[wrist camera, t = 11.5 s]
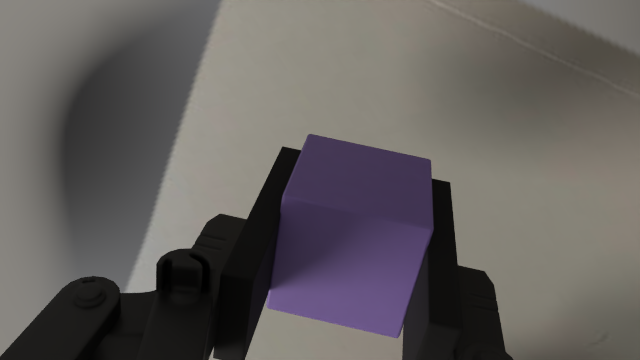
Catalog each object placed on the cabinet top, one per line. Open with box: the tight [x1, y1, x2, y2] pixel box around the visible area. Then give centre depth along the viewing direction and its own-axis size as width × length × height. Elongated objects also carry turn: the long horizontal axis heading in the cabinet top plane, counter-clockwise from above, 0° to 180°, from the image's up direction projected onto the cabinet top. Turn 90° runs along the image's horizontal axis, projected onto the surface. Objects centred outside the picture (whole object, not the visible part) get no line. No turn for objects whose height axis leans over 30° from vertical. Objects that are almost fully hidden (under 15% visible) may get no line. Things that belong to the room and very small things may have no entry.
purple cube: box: [266, 134, 434, 338], centre depth 17 cm, size 4×4×4 cm
